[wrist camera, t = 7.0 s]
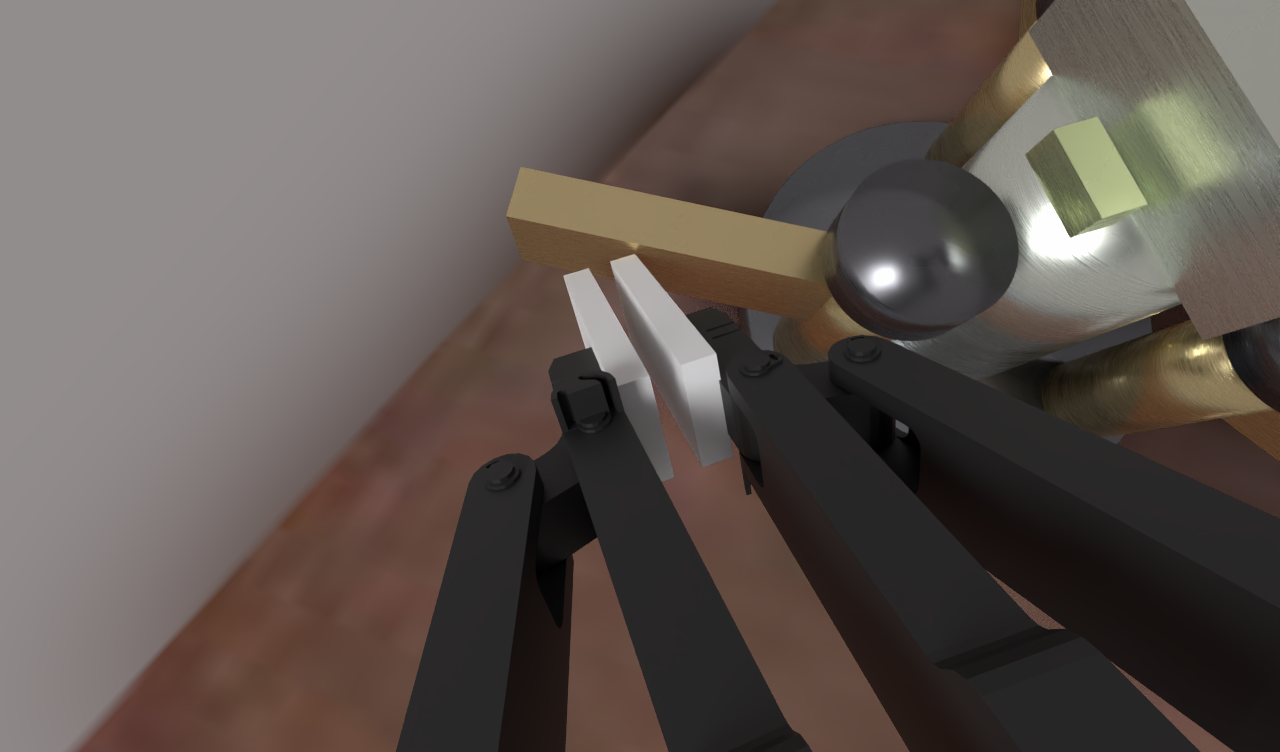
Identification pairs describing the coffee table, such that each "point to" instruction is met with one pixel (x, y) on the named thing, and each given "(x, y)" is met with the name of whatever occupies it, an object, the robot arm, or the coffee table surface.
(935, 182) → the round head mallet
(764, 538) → the coffee table surface
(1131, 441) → the coffee table surface
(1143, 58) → the tribrach
